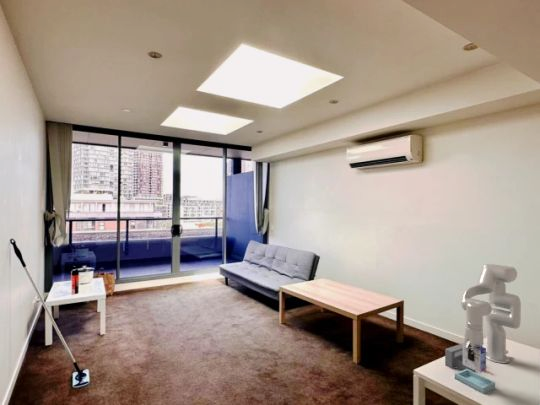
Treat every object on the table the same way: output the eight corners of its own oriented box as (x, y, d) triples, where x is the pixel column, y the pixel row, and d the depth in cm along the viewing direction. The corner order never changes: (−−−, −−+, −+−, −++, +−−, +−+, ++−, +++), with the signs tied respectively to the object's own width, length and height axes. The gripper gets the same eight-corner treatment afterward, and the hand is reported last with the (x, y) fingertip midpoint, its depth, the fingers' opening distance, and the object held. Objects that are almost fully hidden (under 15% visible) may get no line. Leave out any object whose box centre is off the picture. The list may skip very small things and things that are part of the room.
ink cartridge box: (487, 370, 164) (486, 344, 164) (481, 373, 162) (480, 346, 162) (468, 362, 173) (467, 336, 173) (462, 364, 171) (461, 338, 171)
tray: (466, 373, 177) (466, 368, 177) (495, 388, 163) (495, 382, 163) (454, 378, 172) (454, 373, 172) (483, 393, 158) (483, 388, 158)
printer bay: (463, 358, 194) (463, 343, 194) (489, 370, 180) (489, 353, 180) (445, 365, 186) (445, 349, 186) (470, 378, 172) (470, 360, 172)
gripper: (476, 321, 175) (476, 352, 175) (457, 326, 167) (457, 359, 167) (490, 325, 168) (490, 358, 168) (471, 331, 160) (471, 365, 160)
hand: (474, 358), depth 167 cm, fingers closed on ink cartridge box, 5 cm apart
